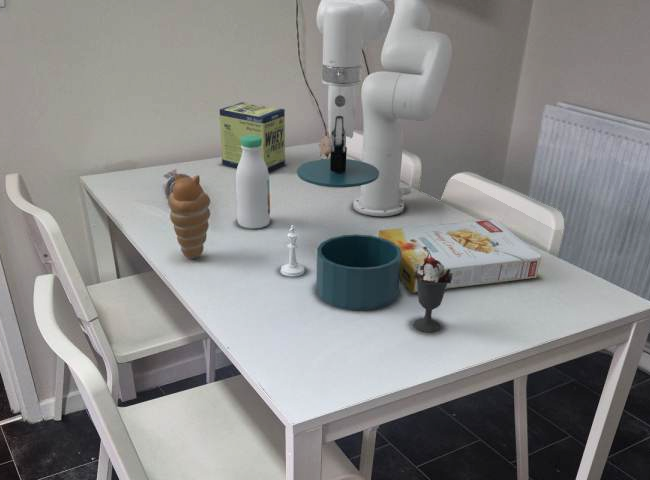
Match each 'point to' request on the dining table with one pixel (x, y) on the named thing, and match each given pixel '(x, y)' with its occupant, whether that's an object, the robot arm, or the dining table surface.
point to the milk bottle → (252, 185)
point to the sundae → (430, 291)
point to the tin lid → (337, 173)
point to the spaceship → (171, 182)
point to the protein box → (253, 132)
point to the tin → (358, 272)
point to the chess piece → (292, 257)
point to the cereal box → (465, 253)
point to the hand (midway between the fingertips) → (338, 167)
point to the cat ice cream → (189, 214)
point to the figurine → (325, 146)
